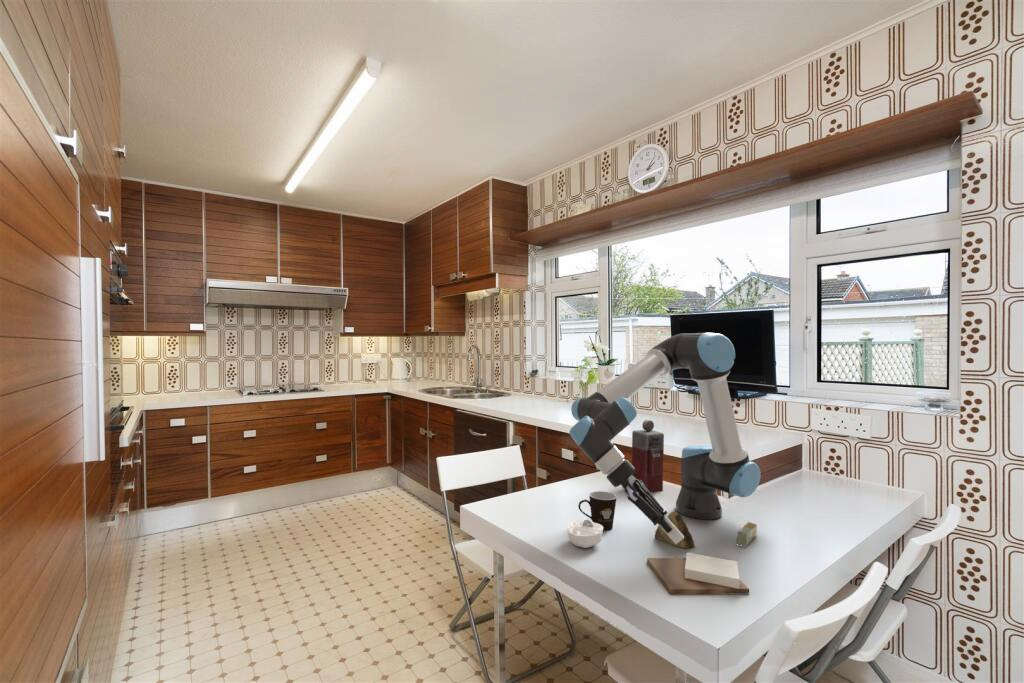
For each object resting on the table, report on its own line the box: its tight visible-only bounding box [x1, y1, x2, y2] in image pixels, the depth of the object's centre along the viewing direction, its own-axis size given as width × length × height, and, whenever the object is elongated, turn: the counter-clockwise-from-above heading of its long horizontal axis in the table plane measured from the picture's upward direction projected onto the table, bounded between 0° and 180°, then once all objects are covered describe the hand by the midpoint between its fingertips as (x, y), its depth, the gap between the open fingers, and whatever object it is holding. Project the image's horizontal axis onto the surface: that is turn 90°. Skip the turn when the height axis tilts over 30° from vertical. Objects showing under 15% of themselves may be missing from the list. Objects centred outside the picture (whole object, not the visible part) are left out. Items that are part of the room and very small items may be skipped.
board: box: [646, 557, 750, 595], centre depth 118 cm, size 19×16×1 cm
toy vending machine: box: [631, 419, 665, 494], centre depth 190 cm, size 9×11×28 cm
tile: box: [685, 552, 740, 589], centre depth 117 cm, size 2×10×12 cm
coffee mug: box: [577, 490, 618, 532], centre depth 150 cm, size 12×9×10 cm
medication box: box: [736, 521, 758, 547], centre depth 142 cm, size 12×3×4 cm, turn 139°
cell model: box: [567, 518, 604, 549], centre depth 136 cm, size 10×12×7 cm
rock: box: [654, 511, 696, 549], centre depth 140 cm, size 11×9×10 cm
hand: (679, 540), depth 120 cm, fingers closed
